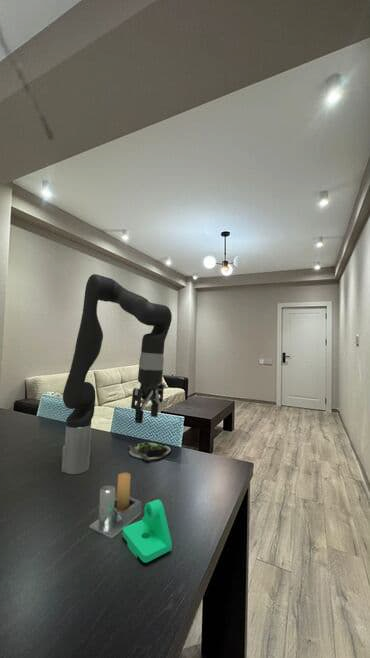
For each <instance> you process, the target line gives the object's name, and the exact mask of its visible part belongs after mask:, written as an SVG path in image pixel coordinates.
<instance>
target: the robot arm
mask: <svg viewBox="0 0 370 658" xmlns="http://www.w3.org/2000/svg"><path fill="white" fill-rule="evenodd" d="M84 289H85V291H84V297H83V307H82V314H81V320H80V325H79V330H78V331H77V332H78V333H77V338H76V343H75V346H74V353H73V357H72V361H71V366H70V370H69V373H68V376H67V380H66V382H65V386H64V388H63V392H62V402H63V405H64V406H65V407H66V408H67V409H70V410H72V412H71V413H70V414H68V416H67V418H66V420H65V422H66V423H65V440H64V445H63V446H62V454H61V455H62V456H61V457H62V458H61V473H65V474H67V475H78V474H79V475H80V474H83V473H86V472H87V471H88V470H90V457H91V456H90V454H91V436H92V435H91V434H92V419H93V418H94V415H95V408H96V407H95V406H96V389H95V386H94V385H93V384H92V383H91V382H90V381H86V378H87V374H88V372H89V371H90V369H91V368H92V366H93V365H94V363H95V362H96V360H97V358H98V357H99V355H100V352H101V349H102V344H103V340H104V334H103V333H104V332H103V329H102V326H101V323H100V321H99V318H98V303H99V301H101V302H107V303H108V302H110V303H113V304H118V305H119V307H120V308H121V309H122V310H123V311H124V312H126V313H128V314H129V315H131V316H134V317H135V319H136V320H137V321H138V322H140V323H141V324H142V325H146V326H150V327H153V328H152V330H151V332H149V333H148V332H147V333H145V334H143V336H142V339H141V349H140V356H139V363H138V371H137V372H138V375H137V382H138V383H139V384H140V387H139V388H137V387H134V388H133V389H132V396H131V397H132V398H131V404H130V409H133V410H135V416H134V422H135V423H136V424H143V422H144V421H143V418H144V410H145V406H146V405H148V404H149V402H150V403H151V406H150V417H151V418H152V417H153V418H158V415H159V414H158V413H159V406H160V405H161V403H163V401H164V390H165V389H164V388H165V386H164V384H163V383H162V382H163V374H164V372H163V371H164V363H165V362H164V352H165V342H166V338H167V336H168V332H169V329H170V327H171V323H172V319H173V316H172V312H171V309H170V308H169V306H167V305H164V304H159V303H153V302H150V301H149V300H148V298H147V297H146V298H145V297H144V296H142V295H141V294H137V293H135V292H133V291H131V290H128V289H126V288H125V287H123V286H122V285H121V284H120V283H119V282H117V281H116V280H114V279H113V278H110V277H107V276H104V275H101V274H95V273H93V274H91V275H90V276H89V277H88V278H87V281H86V284H85V288H84Z"/></svg>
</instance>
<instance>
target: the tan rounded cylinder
mask: <svg viewBox="0 0 370 658" xmlns="http://www.w3.org/2000/svg"><path fill="white" fill-rule="evenodd" d="M131 477H132V476H131V473H129V472H121V473H119V474H118V475H117V489H116V497H117V505H116V508H117V509H119V510H121V511H125V510H126V509H127V508H129V497H131V496H130V495H131Z"/></svg>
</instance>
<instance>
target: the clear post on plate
mask: <svg viewBox="0 0 370 658" xmlns="http://www.w3.org/2000/svg"><path fill="white" fill-rule="evenodd" d="M116 505H117V496H116V487H115V486H114V485H111V484H110V485H105V486H102V487H101V488H100V489H99V507H98V519H96V520H95V521H94V522H93V523H91V524H90V525H89V529H92V530H94V531H96V532H97V533H99V534H102V535H104V536H106V537H108V538H110V539H114V538H115V536H116V535H118V534H119V533H120V532H122V531H123V528H124V527H126V526H128V525H130V524H132V522H133V521H135V520H136V519H137V518H138V517H139V516H141V514H142V501H141V500H139V499H137V498H135V497H134V498H133V497H132V496H130V497H129V508H127V509H126V510H125V511H121V510H119V509H117V508H116Z"/></svg>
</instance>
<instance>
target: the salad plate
mask: <svg viewBox="0 0 370 658" xmlns="http://www.w3.org/2000/svg"><path fill="white" fill-rule="evenodd" d="M127 447H128V448H129V449H130V450H129V455H130V456H131V457H133V458H135V457H136V459H139V460H142V461H144V462H149V461H154V462H159V461H161V459H162V460H164V459H165V458H167V457H168V456H169V455H170V454H171V452H172V449H171V448H170V446H168V445H163V444H159V443H154V442H142V443H137V446H134V445H131V444H129V445H128V446H127Z"/></svg>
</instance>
